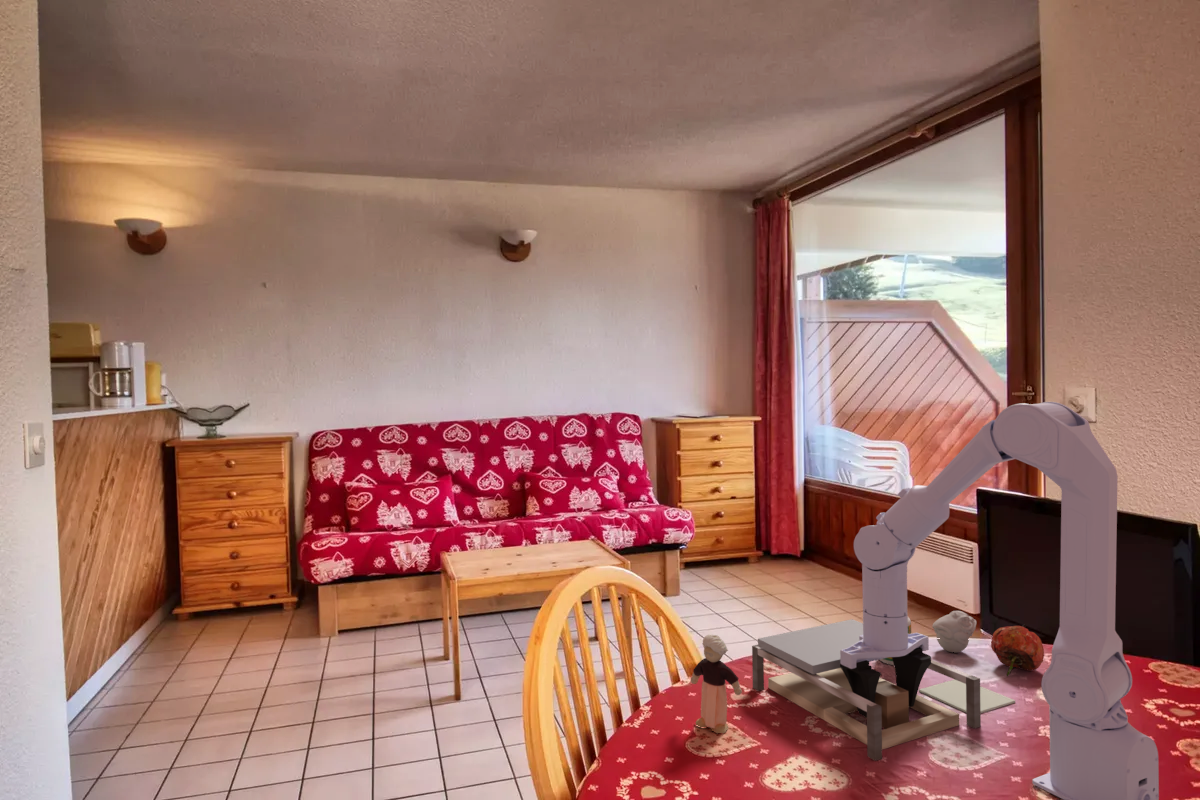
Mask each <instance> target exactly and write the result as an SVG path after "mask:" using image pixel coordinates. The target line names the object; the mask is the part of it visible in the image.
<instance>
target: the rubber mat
mask: <svg viewBox="0 0 1200 800" xmlns="http://www.w3.org/2000/svg"><path fill="white" fill-rule="evenodd" d="M918 692H919V693H921V694H924V695H926V696H929V697H930V698H933V699H935V700H937V701H940V702H941V703H944V704H946V705H947V706H951V707H953V708H955V709H957V710H959V711H961V712H962V713H963V712H964V713H966V684H965V683H962V682H960V681H957V680H955V679H951V680H948V681H944V682H940V683H936V684H934V685H930V686H927V687H922V688H918ZM1015 703H1016V700H1015V699H1013V698H1010V697H1008V696H1005V695H1003V694H1001V693H998V692H995V691H993V690H991V689H988V688H986V687H983V686H981V685H980V712H981V714H983V713H986V712H990V711H993V710H996V709H998V708H1002V707H1004V706H1009V705H1012V704H1015Z"/></svg>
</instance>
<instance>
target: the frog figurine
mask: <svg viewBox="0 0 1200 800" xmlns="http://www.w3.org/2000/svg"><path fill="white" fill-rule="evenodd" d="M976 628H977V620H976V619H974V617H972V616H971V615H969V614H968V613H966V612H964V611H961V610H953V611H951V612H949V614H946V615H943V616H942V617H939V618H938V619H936V620H935V621H934V622H933V624H932V629H933V630H934V633H935V634H936V641H937V643H938V644H939V645H940V647H941V648H942V649H943V650H944V651H947V652H949V653H953V652H954V653H955V654H957V653H960V652H962V651H965V650H966V648H967V647H968V646H969V641H970V637H973V634H974V632H975V631H976ZM937 638H940V639H937ZM968 639H969V640H968Z"/></svg>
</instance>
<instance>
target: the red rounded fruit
mask: <svg viewBox="0 0 1200 800" xmlns="http://www.w3.org/2000/svg"><path fill="white" fill-rule="evenodd" d="M1026 627H1027V626H1026V624H1022V625H1013V626H1010V625H1007V626H1003V627H999V628H997V629H996V630H995V631H994V632H993V634H992V637H991V643H990V648H991V649H992V652H993V653H994V654H995V655H996V657H997V660H998V661H999V662H1000V663H1001V664H1003V665H1004V666H1006V667H1009V668H1008V670H1007V673H1006V676H1007V677H1009V675H1010V674H1011V671H1012V670H1013V669H1014V668H1013V667H1016V669H1020V670H1024V671H1028V672H1029V671H1030V672H1031V671H1036V670H1038V669H1039V667H1040V666H1041V665H1042V663H1043V662H1044V657H1045V650H1044V649H1045V648H1044V645H1043V642H1042V639H1041V638H1040V637H1039V636H1038V635H1037V634H1036V633H1035V632H1033V631H1029V629H1028V628H1026Z"/></svg>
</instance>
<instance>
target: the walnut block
mask: <svg viewBox="0 0 1200 800" xmlns="http://www.w3.org/2000/svg"><path fill="white" fill-rule="evenodd" d="M887 681H888V680H886V681H881V682H878V684H877V688H876V694H875V703H876V704H878V705H880V706H881V711H882V728H883V729H887V728H890V727H894V726H897V725H900V724H903V723H907V722H910V715H909V714H910V713H909V712H910V707H909V695H908V691H907V690H905V689H903V688H901V687H898V686H896V685H897V684H895V683H893V684H892V682H891V681H888V682H887ZM894 684H895V685H894ZM864 719H866V720H867V718H866V717H864Z"/></svg>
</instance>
